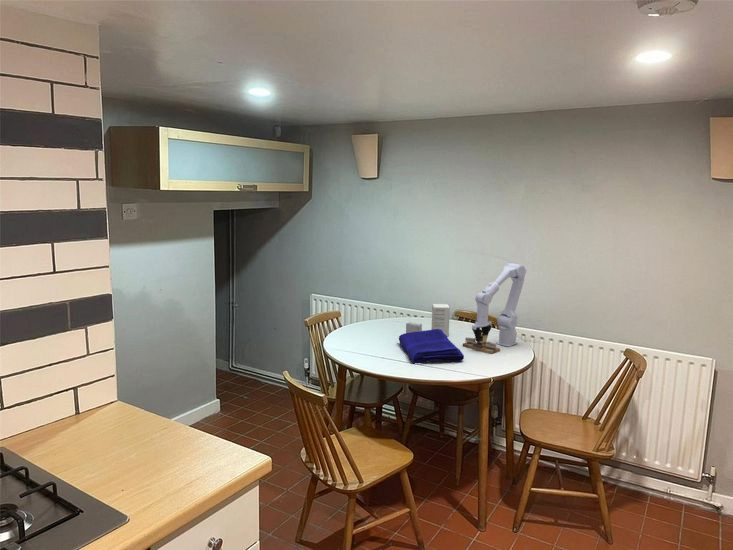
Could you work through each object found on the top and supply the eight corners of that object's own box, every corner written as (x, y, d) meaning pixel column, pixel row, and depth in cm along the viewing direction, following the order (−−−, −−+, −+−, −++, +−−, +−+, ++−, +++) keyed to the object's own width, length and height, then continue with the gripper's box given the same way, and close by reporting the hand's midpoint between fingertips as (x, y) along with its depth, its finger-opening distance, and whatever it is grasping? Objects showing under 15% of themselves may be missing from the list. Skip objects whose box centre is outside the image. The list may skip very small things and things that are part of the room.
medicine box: (421, 338, 301) (422, 323, 300) (418, 340, 297) (418, 325, 296) (409, 336, 305) (409, 321, 304) (405, 338, 301) (405, 323, 300)
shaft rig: (471, 343, 293) (471, 335, 292) (499, 351, 280) (500, 342, 279) (462, 346, 288) (462, 338, 287) (490, 354, 275) (491, 345, 274)
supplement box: (449, 336, 306) (450, 307, 303) (432, 336, 306) (433, 307, 303) (446, 331, 315) (448, 303, 312) (431, 331, 315) (432, 303, 312)
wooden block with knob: (480, 344, 286) (480, 333, 285) (486, 346, 283) (487, 335, 282) (475, 345, 284) (476, 334, 283) (482, 347, 281) (483, 336, 280)
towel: (412, 365, 258) (412, 347, 256) (396, 343, 292) (397, 328, 291) (465, 363, 262) (465, 345, 260) (443, 342, 296) (444, 326, 295)
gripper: (484, 311, 289) (483, 336, 291) (467, 316, 279) (466, 341, 281) (495, 314, 283) (494, 339, 286) (479, 318, 274) (477, 344, 276)
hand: (481, 340), depth 283 cm, fingers open, 5 cm apart
